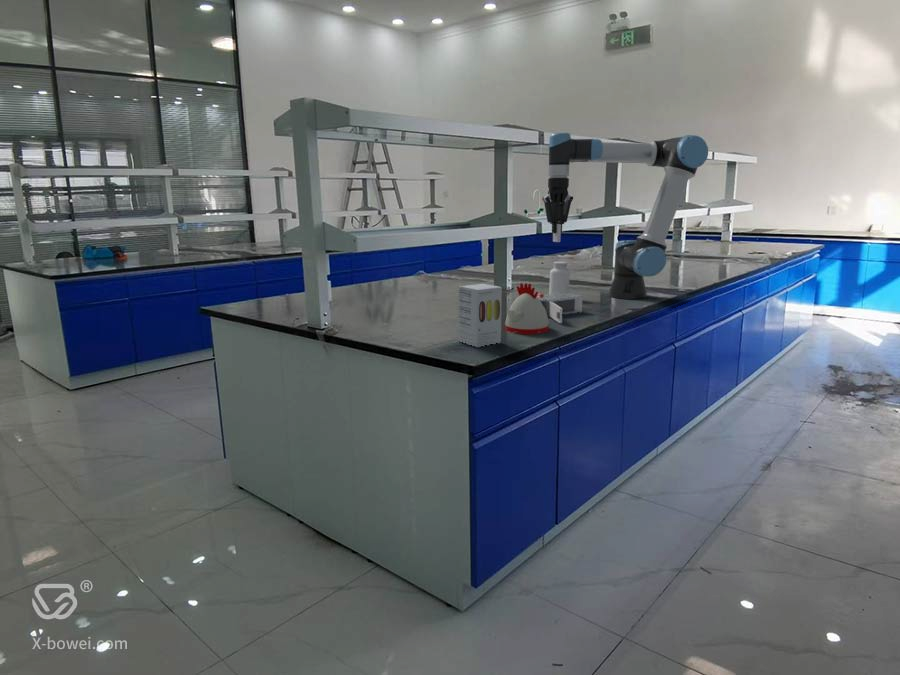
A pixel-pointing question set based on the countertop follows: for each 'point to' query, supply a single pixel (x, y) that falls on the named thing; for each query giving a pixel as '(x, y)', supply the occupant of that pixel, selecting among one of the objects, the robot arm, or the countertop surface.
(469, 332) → the supplement box
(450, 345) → the countertop surface
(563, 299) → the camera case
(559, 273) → the pill bottle
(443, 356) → the countertop surface
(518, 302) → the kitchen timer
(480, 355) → the countertop surface
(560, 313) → the thin white box
